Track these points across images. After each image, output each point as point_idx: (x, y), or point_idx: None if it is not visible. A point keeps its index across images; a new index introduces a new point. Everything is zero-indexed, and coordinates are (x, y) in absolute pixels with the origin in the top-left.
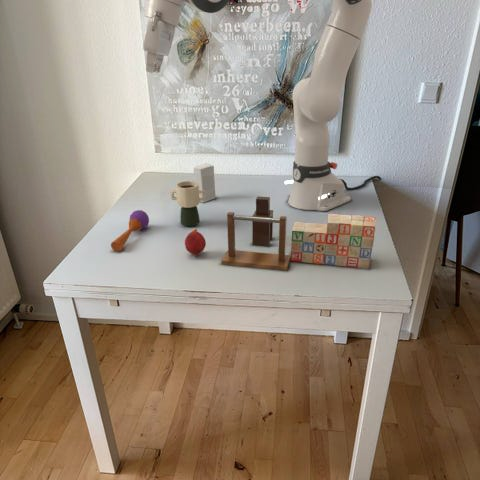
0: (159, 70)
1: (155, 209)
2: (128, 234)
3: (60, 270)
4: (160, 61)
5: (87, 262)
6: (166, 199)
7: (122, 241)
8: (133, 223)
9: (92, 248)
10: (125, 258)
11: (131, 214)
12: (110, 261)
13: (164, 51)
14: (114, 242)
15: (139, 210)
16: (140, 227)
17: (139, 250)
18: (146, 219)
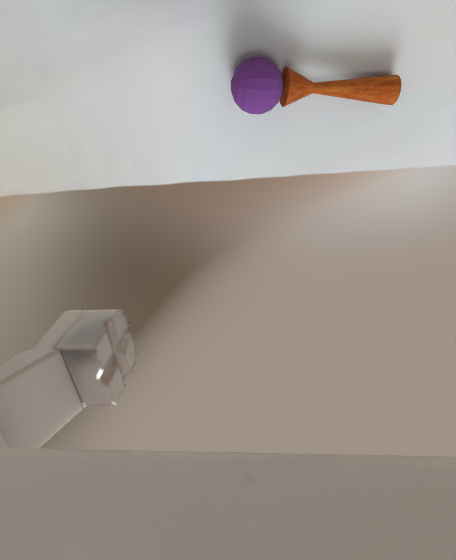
0: (96, 318)
1: (116, 83)
2: (343, 82)
3: (451, 164)
4: (6, 400)
5: (428, 130)
6: (29, 76)
7: (385, 81)
8: (301, 88)
9: (361, 147)
10: (428, 50)
11: (264, 110)
12: (435, 81)
13: (141, 515)
14: (397, 96)
15: (254, 93)
16: (289, 68)
17: (388, 28)
18: (268, 61)
